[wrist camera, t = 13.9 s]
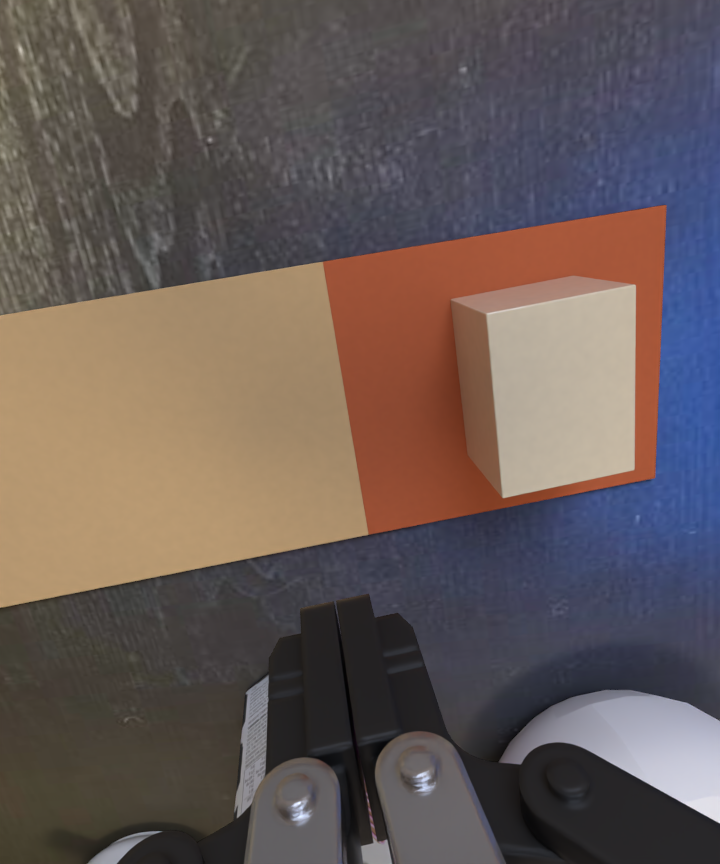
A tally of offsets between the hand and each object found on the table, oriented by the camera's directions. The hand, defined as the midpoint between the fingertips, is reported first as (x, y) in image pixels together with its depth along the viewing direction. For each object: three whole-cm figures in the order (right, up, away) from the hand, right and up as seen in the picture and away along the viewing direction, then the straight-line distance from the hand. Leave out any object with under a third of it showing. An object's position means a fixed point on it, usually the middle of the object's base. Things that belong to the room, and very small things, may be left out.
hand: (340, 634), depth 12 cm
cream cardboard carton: (+8, +7, +15) cm, 19 cm away
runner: (-4, +5, +15) cm, 16 cm away
